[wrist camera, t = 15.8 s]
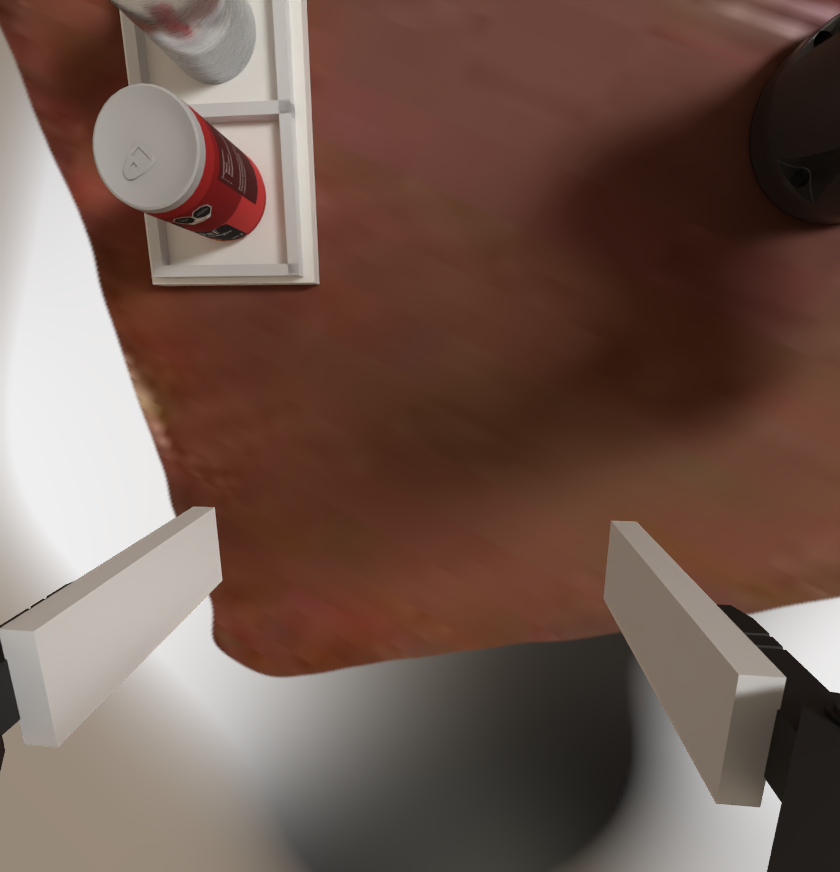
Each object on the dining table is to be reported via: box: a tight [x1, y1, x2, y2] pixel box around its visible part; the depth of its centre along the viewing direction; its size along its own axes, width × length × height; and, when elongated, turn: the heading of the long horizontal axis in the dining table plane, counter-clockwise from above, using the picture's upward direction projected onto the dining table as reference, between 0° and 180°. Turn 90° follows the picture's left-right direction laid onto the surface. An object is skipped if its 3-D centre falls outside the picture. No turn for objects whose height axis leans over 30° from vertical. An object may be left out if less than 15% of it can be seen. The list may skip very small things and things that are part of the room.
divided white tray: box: [119, 0, 319, 286], centre depth 39 cm, size 16×28×3 cm, turn 0°
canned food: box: [93, 83, 266, 242], centre depth 35 cm, size 8×8×11 cm
